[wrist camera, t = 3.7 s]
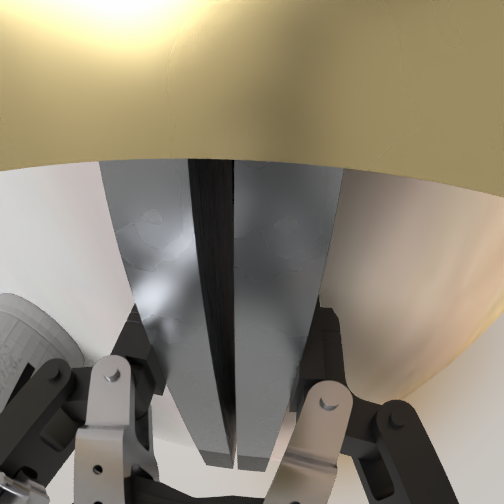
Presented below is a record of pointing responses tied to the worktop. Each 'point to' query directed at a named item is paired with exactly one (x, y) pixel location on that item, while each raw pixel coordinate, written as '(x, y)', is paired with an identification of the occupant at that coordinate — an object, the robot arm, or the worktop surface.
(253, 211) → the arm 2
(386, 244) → the worktop surface
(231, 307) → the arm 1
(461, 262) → the worktop surface
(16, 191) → the worktop surface
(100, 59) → the tan framed block
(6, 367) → the glass holder
